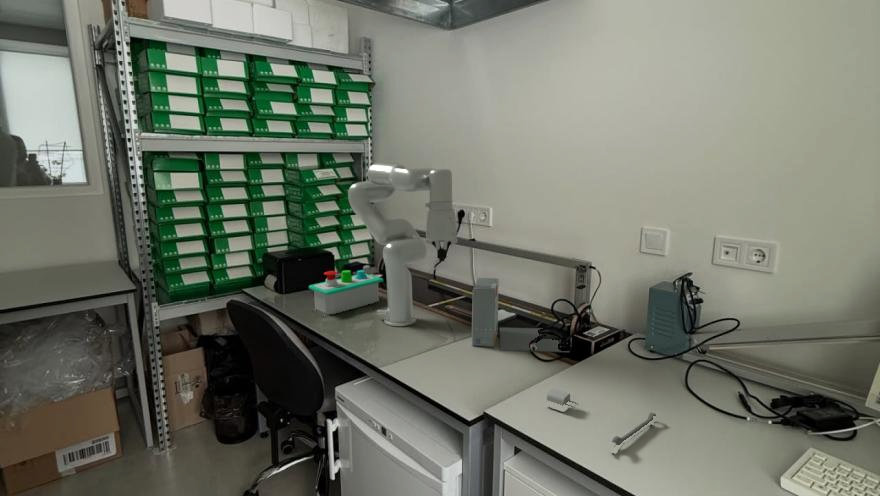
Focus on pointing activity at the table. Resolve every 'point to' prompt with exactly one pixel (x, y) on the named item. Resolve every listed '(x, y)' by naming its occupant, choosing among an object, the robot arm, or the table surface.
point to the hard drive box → (485, 312)
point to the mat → (525, 340)
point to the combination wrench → (619, 440)
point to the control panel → (345, 291)
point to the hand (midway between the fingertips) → (442, 260)
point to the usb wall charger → (559, 397)
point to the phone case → (505, 316)
